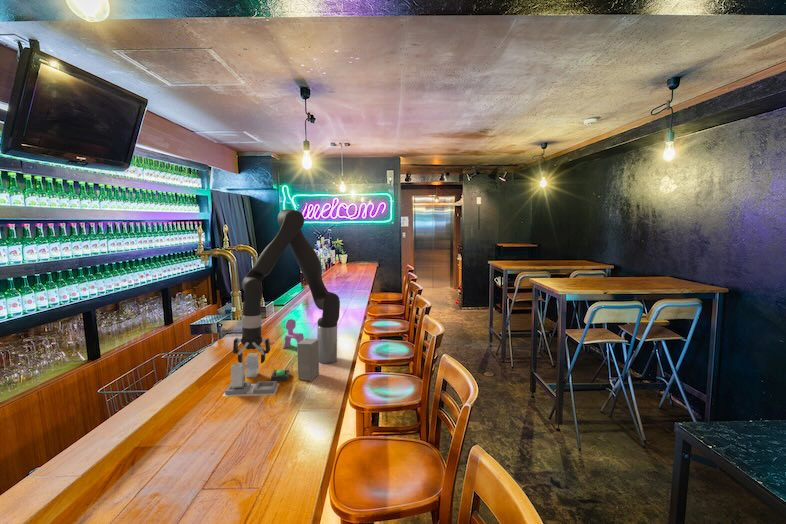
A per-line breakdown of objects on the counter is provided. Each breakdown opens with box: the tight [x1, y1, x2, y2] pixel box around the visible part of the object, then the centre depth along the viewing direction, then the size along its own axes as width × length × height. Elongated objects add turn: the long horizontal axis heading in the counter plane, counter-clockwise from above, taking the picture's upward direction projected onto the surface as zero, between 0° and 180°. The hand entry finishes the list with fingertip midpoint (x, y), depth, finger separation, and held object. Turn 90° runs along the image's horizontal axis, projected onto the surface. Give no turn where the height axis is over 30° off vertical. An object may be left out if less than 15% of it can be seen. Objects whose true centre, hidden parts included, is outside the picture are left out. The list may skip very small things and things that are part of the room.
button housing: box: [270, 369, 291, 382], centre depth 152 cm, size 6×6×3 cm
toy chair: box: [282, 318, 305, 352], centre depth 189 cm, size 8×9×15 cm
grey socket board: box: [221, 380, 280, 397], centre depth 141 cm, size 19×10×2 cm, turn 97°
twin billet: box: [230, 362, 246, 389], centre depth 140 cm, size 4×4×10 cm
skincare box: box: [296, 337, 320, 382], centre depth 156 cm, size 8×7×16 cm
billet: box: [245, 352, 260, 379], centre depth 153 cm, size 4×4×10 cm
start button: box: [276, 368, 286, 376], centre depth 152 cm, size 4×4×3 cm
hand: (251, 362), depth 152 cm, fingers open, 8 cm apart
